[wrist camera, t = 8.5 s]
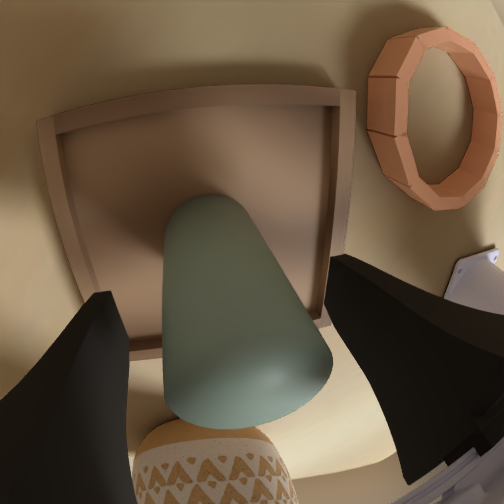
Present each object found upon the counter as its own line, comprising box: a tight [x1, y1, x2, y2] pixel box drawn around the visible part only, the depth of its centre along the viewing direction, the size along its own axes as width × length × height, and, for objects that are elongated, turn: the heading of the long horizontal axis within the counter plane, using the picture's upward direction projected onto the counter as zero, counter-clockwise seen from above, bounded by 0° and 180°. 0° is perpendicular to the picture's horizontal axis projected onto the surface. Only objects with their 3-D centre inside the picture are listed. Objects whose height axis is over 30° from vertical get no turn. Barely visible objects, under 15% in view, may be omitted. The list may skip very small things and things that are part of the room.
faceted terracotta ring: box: [367, 27, 503, 211], centre depth 12 cm, size 11×11×2 cm
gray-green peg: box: [162, 194, 333, 429], centre depth 10 cm, size 4×4×8 cm
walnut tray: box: [36, 84, 356, 361], centre depth 13 cm, size 13×13×2 cm
